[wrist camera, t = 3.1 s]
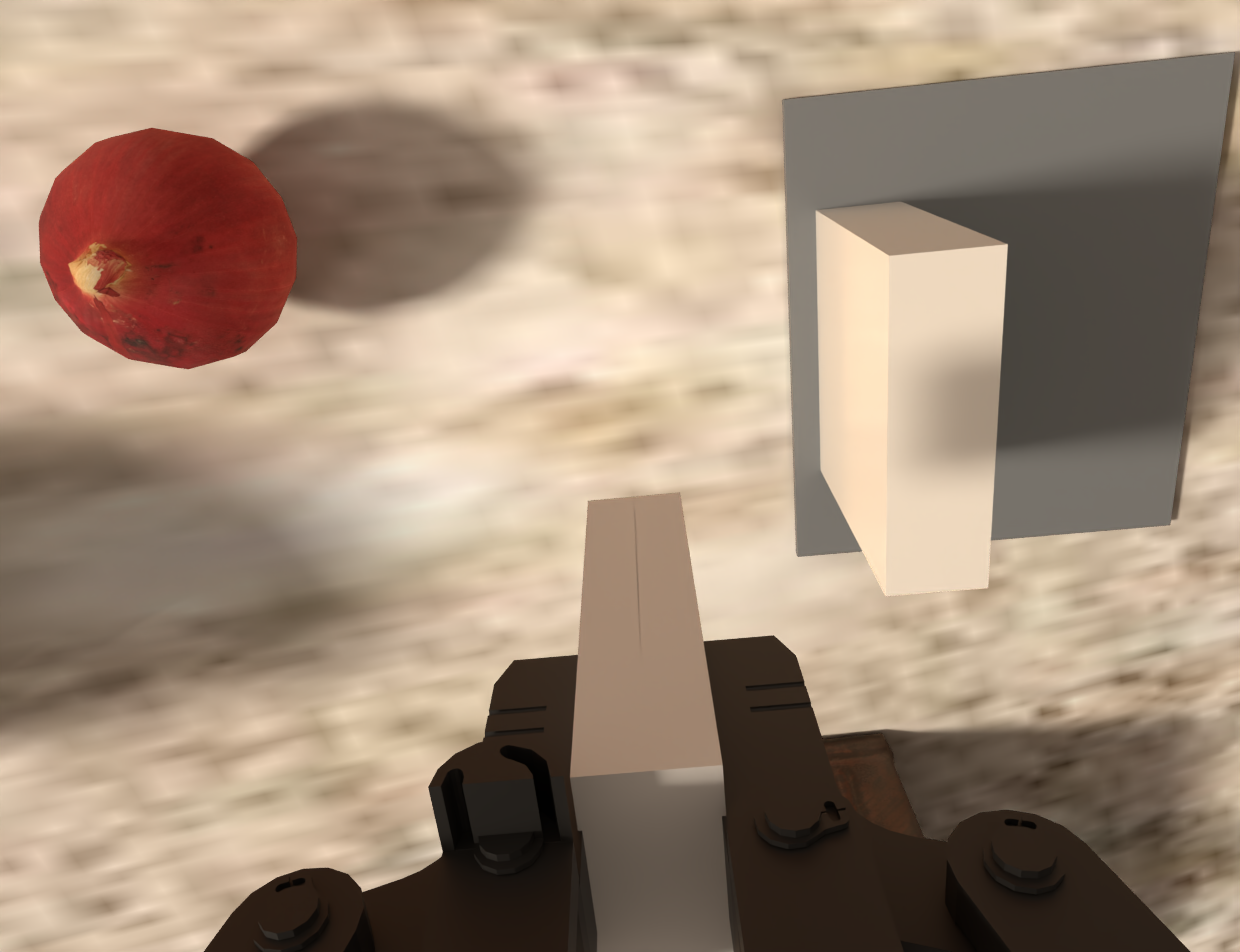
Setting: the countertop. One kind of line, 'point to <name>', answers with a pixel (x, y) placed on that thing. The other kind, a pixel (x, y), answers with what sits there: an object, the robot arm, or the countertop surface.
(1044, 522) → the mat
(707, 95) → the countertop surface
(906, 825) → the manual coffee grinder
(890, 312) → the tile
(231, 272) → the onion
